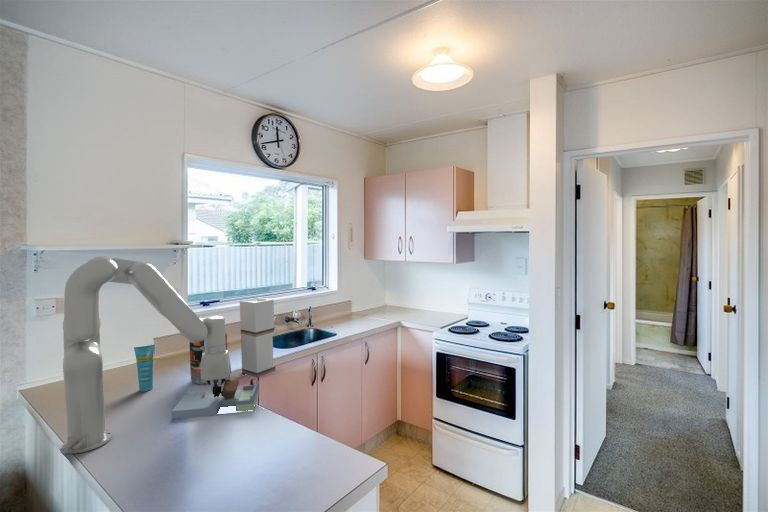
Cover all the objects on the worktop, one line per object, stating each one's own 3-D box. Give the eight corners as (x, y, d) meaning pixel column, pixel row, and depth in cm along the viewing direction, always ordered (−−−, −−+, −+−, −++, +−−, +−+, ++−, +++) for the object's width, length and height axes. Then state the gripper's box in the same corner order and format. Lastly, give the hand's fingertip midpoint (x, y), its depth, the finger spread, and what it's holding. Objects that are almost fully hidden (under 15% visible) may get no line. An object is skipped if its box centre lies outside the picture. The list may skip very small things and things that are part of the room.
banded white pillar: (275, 370, 184) (273, 299, 182) (257, 377, 175) (254, 302, 173) (260, 366, 190) (258, 297, 188) (242, 372, 182) (239, 300, 180)
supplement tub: (187, 378, 175) (184, 323, 174) (222, 370, 185) (220, 318, 184) (196, 388, 163) (193, 329, 162) (233, 379, 173) (231, 323, 172)
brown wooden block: (235, 398, 145) (239, 383, 146) (221, 397, 143) (226, 382, 143) (233, 393, 150) (237, 378, 150) (220, 392, 147) (225, 377, 148)
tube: (136, 393, 159) (133, 348, 158) (136, 389, 163) (133, 345, 162) (156, 389, 163) (154, 345, 162) (156, 385, 167) (154, 342, 166)
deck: (253, 411, 141) (252, 395, 140) (172, 419, 136) (171, 402, 135) (259, 395, 156) (258, 380, 155) (186, 401, 150) (185, 386, 150)
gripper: (191, 353, 139) (193, 401, 140) (233, 350, 142) (235, 397, 143) (197, 347, 147) (199, 393, 148) (237, 344, 149) (239, 389, 150)
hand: (217, 395), depth 145 cm, fingers closed
